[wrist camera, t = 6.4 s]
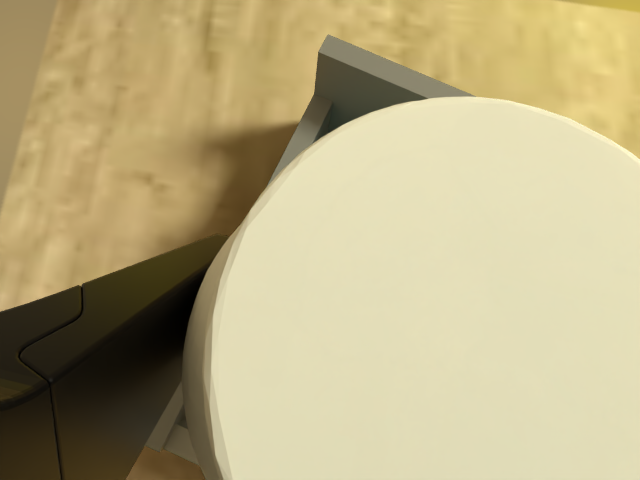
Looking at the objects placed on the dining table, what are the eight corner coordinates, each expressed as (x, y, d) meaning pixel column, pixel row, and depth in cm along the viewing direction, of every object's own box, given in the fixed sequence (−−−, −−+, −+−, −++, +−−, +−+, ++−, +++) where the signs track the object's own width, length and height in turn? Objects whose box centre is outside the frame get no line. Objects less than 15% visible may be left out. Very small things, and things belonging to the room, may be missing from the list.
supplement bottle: (438, 295, 17) (880, 107, 4) (404, 480, 15) (1020, 1110, 2) (273, 250, 17) (229, -69, 4) (218, 428, 15) (-144, 792, 2)
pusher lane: (378, 526, 20) (424, 612, 13) (163, 425, 20) (103, 460, 13) (492, 194, 24) (567, 135, 18) (317, 119, 25) (327, 34, 18)
